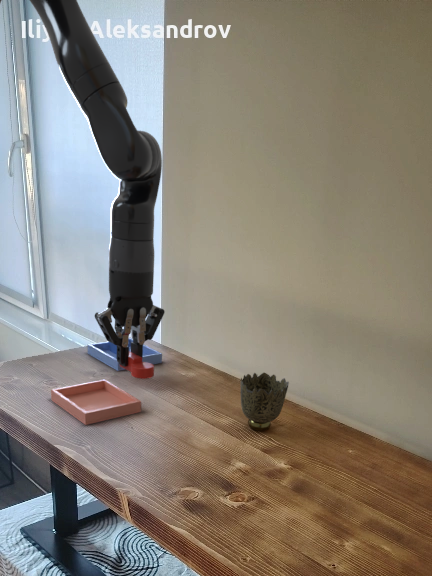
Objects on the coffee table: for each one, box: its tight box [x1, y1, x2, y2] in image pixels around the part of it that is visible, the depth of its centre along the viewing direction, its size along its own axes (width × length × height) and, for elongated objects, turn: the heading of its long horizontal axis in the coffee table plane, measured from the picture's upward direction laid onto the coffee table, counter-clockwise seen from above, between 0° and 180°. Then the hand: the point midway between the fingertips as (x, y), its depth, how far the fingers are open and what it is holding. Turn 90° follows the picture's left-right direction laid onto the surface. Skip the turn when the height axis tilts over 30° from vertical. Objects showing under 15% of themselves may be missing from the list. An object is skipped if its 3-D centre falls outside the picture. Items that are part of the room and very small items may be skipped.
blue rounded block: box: [110, 342, 131, 354], centre depth 123 cm, size 8×4×3 cm, turn 40°
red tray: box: [50, 378, 142, 426], centre depth 102 cm, size 11×10×2 cm
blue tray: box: [87, 337, 163, 372], centre depth 124 cm, size 11×10×2 cm
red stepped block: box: [120, 351, 155, 380], centre depth 112 cm, size 8×4×3 cm, turn 40°
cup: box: [240, 372, 290, 432], centre depth 98 cm, size 8×7×8 cm
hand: (129, 364), depth 113 cm, fingers closed on red stepped block, 2 cm apart
